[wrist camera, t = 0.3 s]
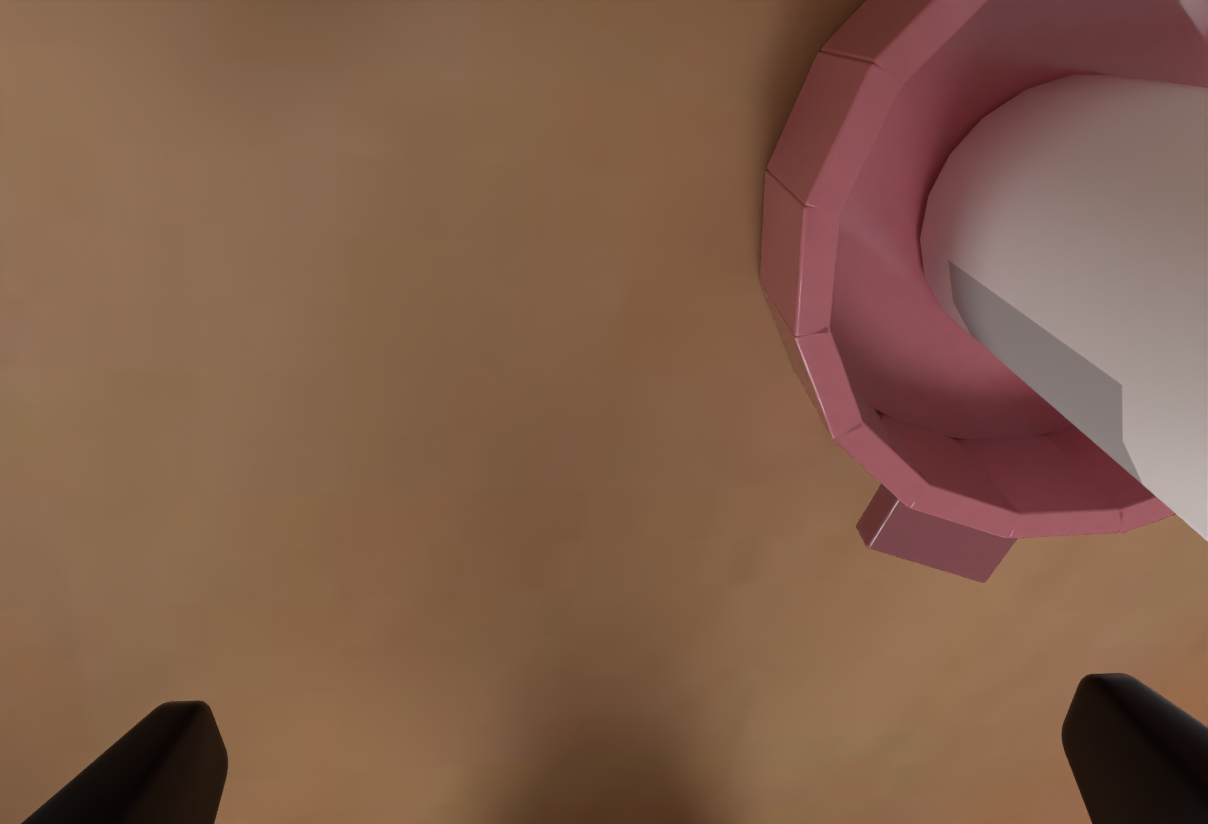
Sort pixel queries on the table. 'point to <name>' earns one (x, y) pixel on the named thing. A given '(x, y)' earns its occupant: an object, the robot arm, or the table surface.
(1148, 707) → the robot arm
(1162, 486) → the spray bottle
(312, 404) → the table surface
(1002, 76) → the pot
